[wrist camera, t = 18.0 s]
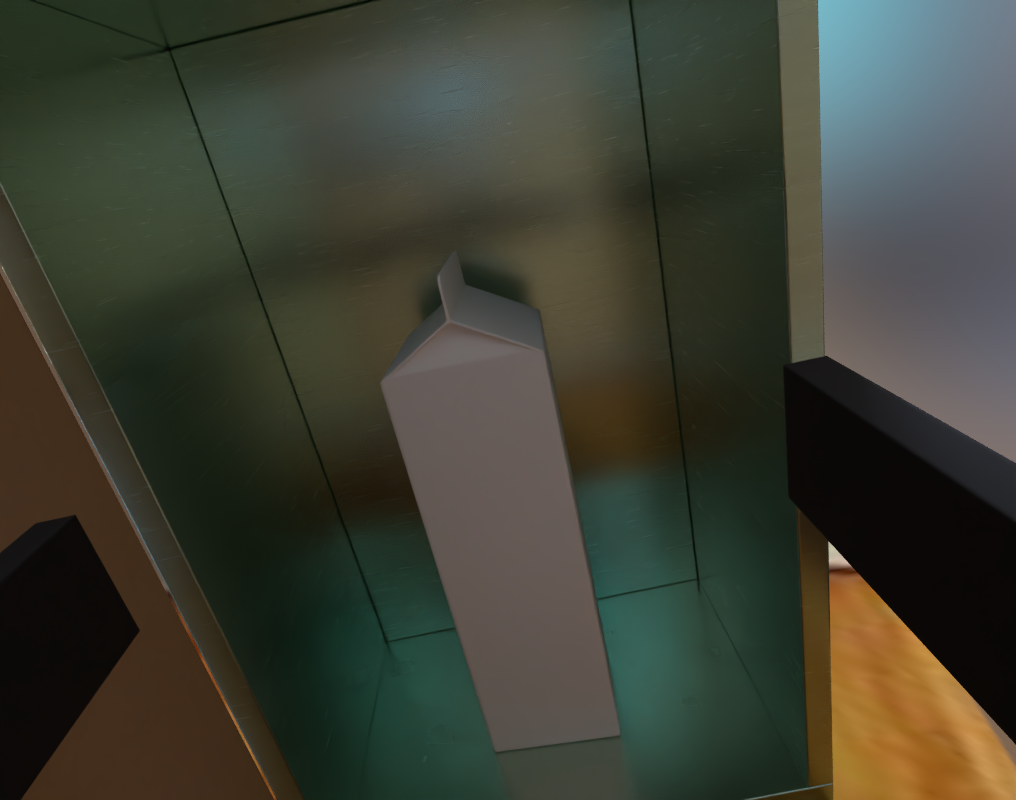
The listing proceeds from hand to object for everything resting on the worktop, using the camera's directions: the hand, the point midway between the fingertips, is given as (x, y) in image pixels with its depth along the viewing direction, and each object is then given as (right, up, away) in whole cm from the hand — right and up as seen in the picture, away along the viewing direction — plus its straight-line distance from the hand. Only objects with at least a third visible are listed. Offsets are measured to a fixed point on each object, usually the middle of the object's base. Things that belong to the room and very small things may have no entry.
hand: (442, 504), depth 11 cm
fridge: (+4, -14, +20) cm, 25 cm away
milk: (+4, -13, +20) cm, 24 cm away
